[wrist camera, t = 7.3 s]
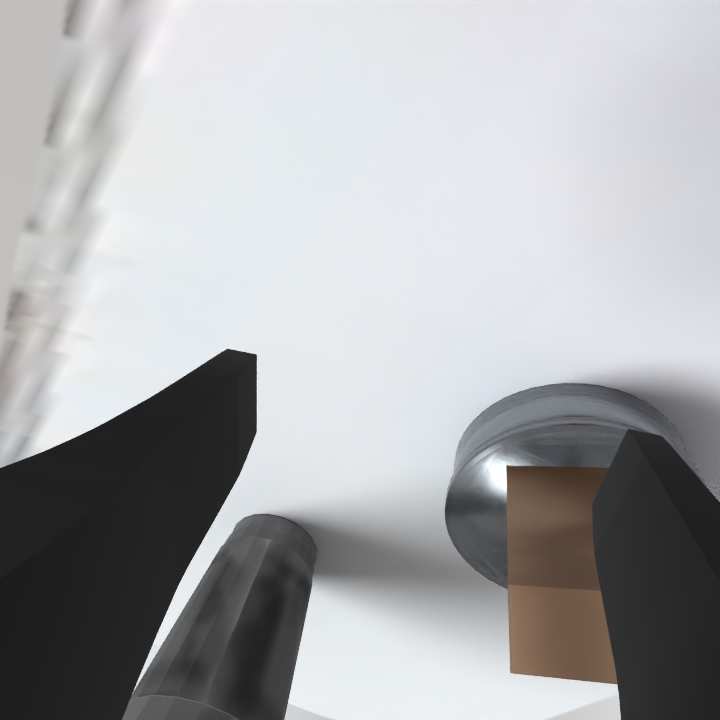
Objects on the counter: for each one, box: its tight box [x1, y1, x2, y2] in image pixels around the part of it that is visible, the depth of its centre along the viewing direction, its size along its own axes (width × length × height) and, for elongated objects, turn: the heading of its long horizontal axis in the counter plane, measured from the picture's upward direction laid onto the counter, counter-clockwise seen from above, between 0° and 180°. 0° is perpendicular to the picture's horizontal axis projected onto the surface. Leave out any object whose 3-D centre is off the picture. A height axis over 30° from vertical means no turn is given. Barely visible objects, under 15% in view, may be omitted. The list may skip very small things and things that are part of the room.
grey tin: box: [445, 383, 706, 589], centre depth 23 cm, size 9×9×3 cm
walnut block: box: [506, 465, 617, 684], centre depth 20 cm, size 4×4×5 cm
